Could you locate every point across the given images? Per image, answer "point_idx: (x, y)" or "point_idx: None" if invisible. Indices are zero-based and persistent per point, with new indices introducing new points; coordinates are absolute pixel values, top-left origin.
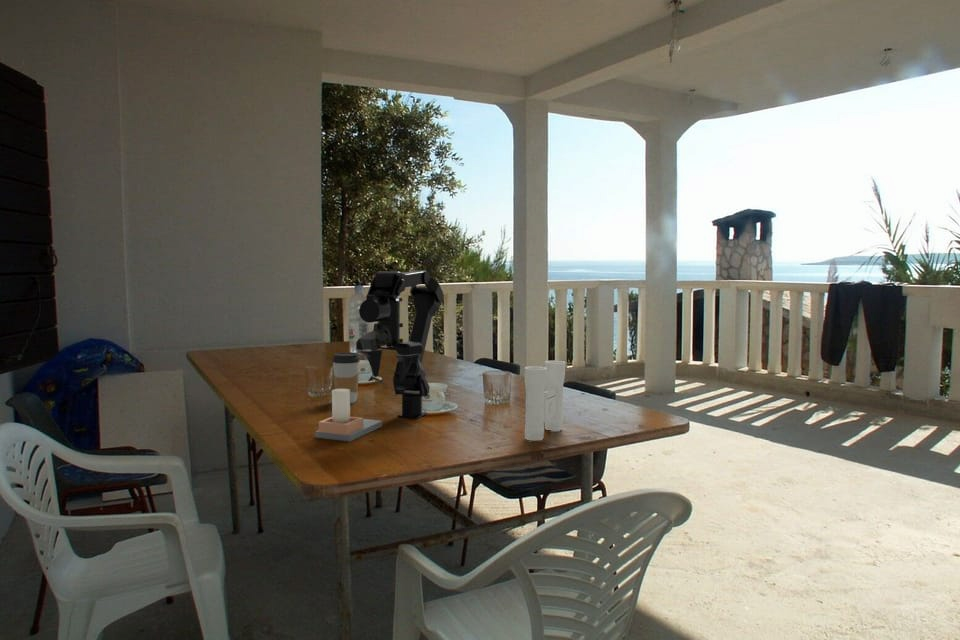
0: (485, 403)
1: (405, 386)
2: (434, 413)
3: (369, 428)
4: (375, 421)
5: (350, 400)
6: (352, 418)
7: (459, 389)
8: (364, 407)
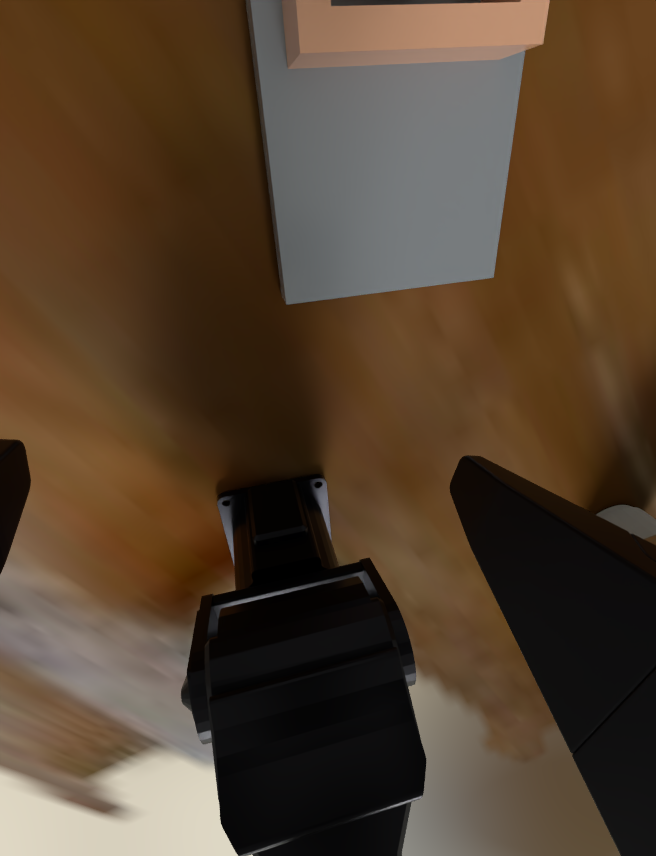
0: (160, 745)
1: (288, 600)
2: (221, 589)
3: (263, 118)
4: (312, 272)
5: None
6: (381, 6)
7: None
8: None
